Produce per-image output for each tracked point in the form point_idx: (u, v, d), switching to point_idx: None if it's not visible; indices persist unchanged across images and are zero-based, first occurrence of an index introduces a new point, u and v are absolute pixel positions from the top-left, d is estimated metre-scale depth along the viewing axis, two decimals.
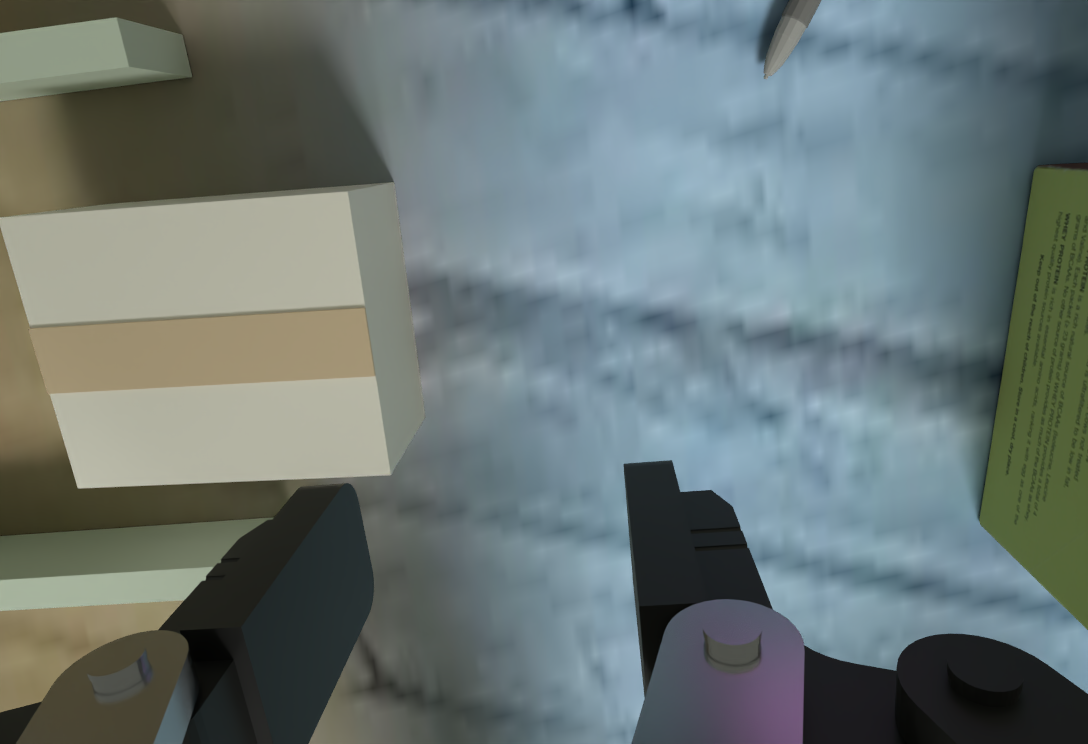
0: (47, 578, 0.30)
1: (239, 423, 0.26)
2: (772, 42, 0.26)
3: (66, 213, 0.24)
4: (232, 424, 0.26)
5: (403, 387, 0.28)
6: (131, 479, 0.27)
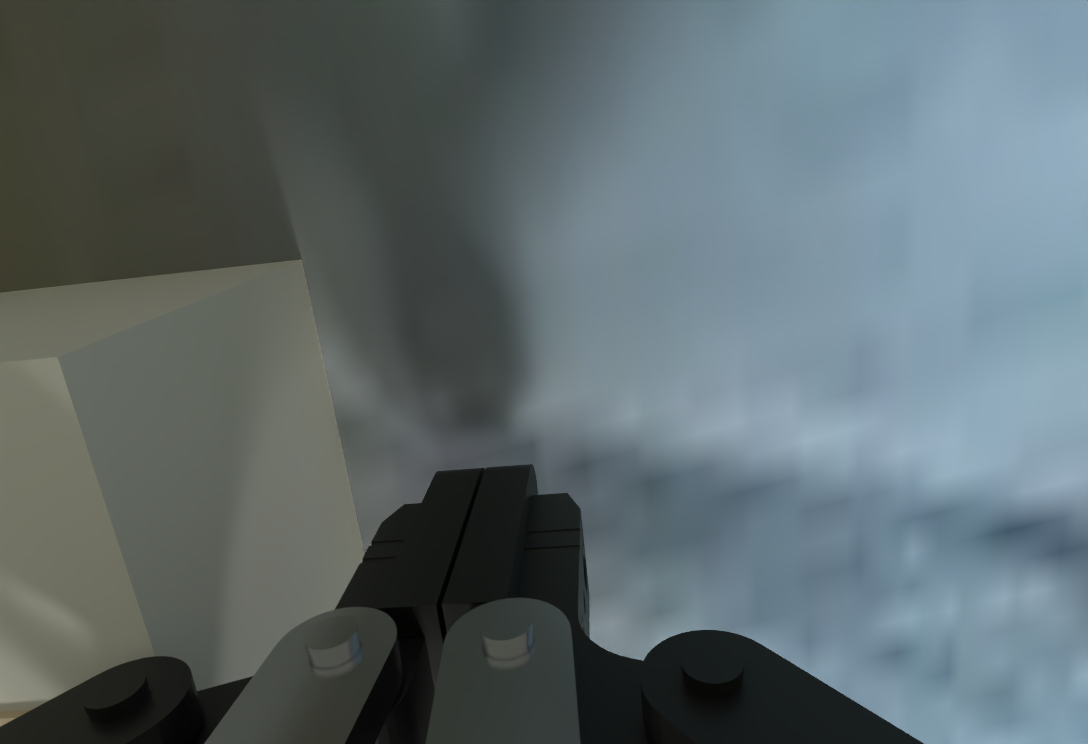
0: None
1: None
2: None
3: None
4: None
5: None
6: None
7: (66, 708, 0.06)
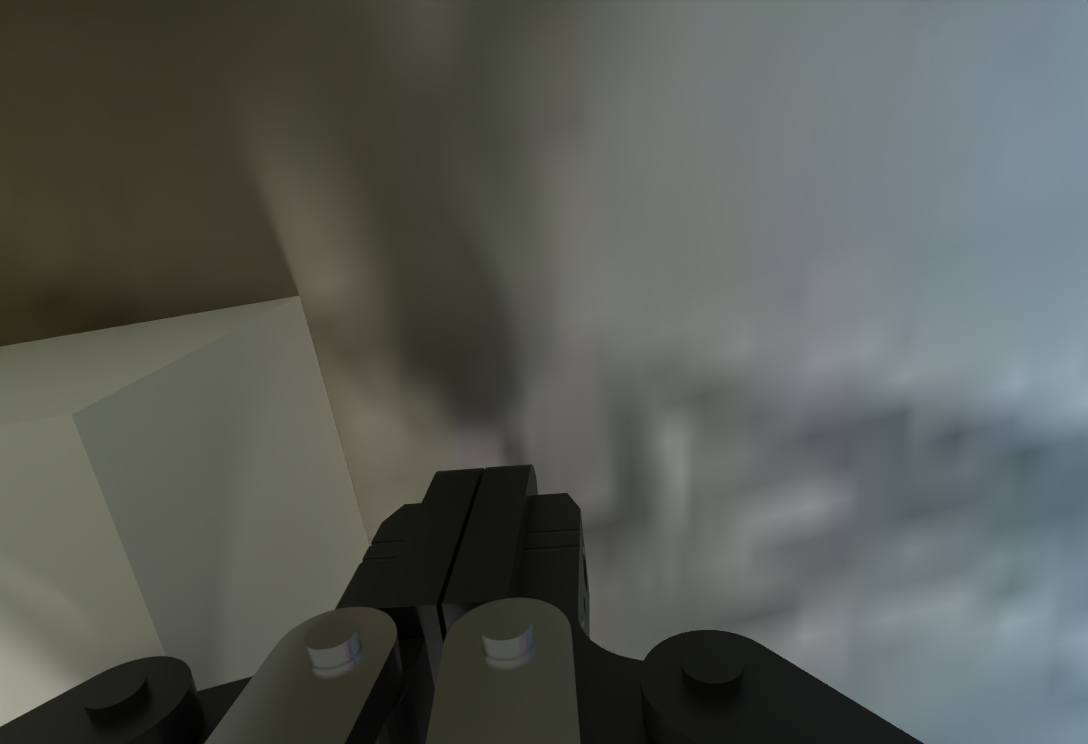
0: None
1: None
2: None
3: None
4: None
5: None
6: None
7: (66, 708, 0.06)
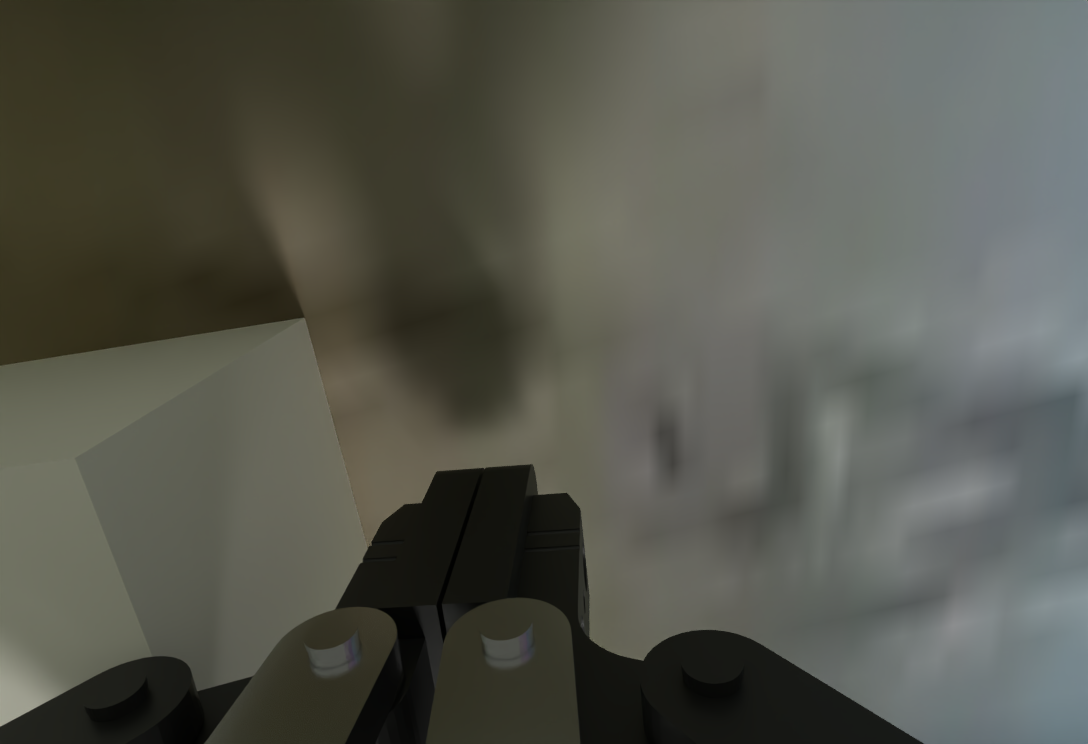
0: None
1: None
2: None
3: None
4: None
5: None
6: None
7: (65, 708, 0.06)
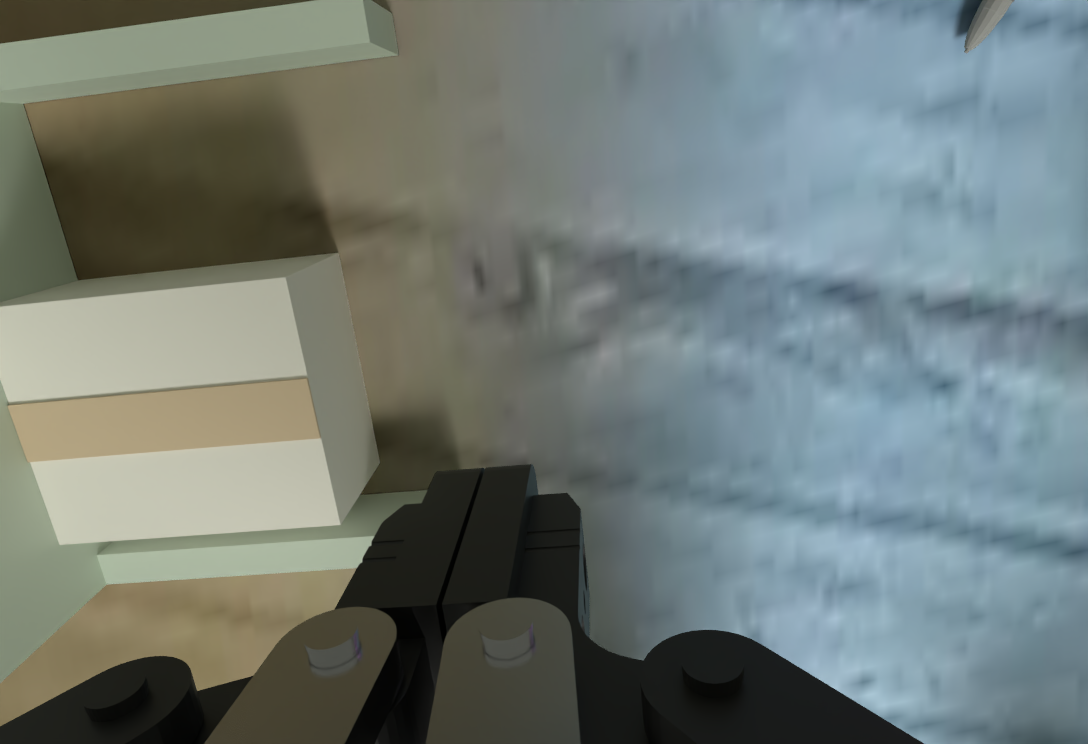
0: (242, 546, 0.31)
1: (201, 483, 0.28)
2: (977, 17, 0.26)
3: (36, 303, 0.27)
4: (195, 484, 0.28)
5: (353, 440, 0.31)
6: (107, 535, 0.29)
7: (66, 708, 0.06)
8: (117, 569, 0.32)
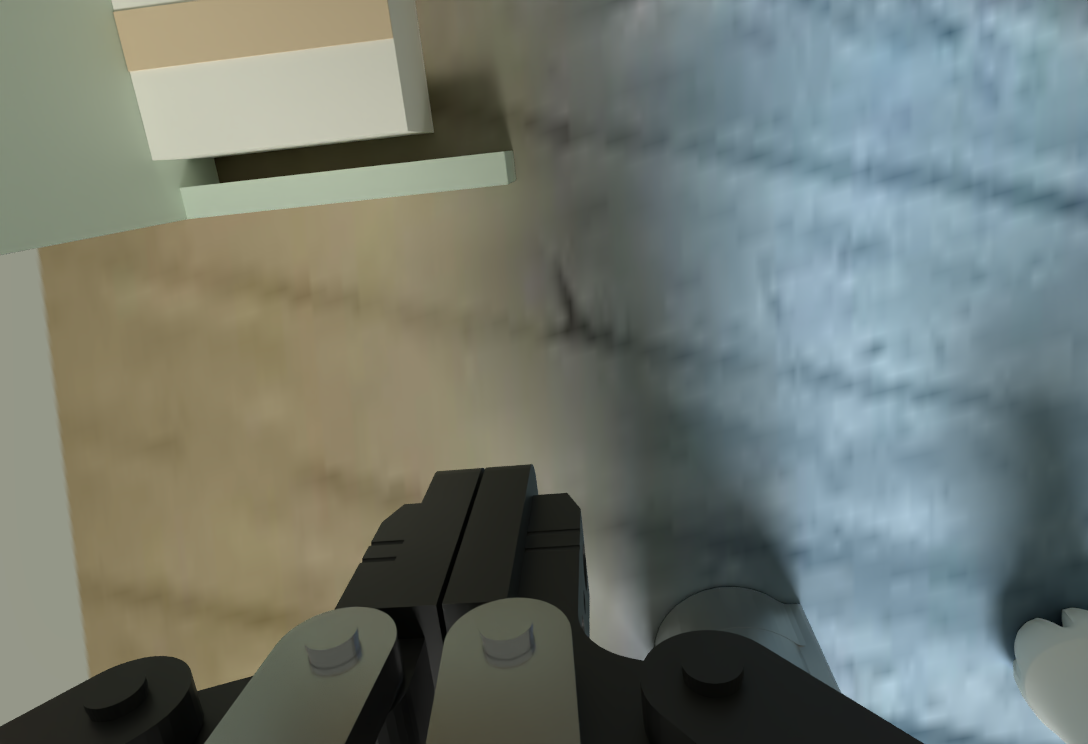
0: (312, 174, 0.34)
1: (283, 90, 0.32)
2: None
3: None
4: (278, 91, 0.32)
5: (415, 80, 0.34)
6: (196, 149, 0.33)
7: (66, 708, 0.06)
8: (198, 202, 0.35)
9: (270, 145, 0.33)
